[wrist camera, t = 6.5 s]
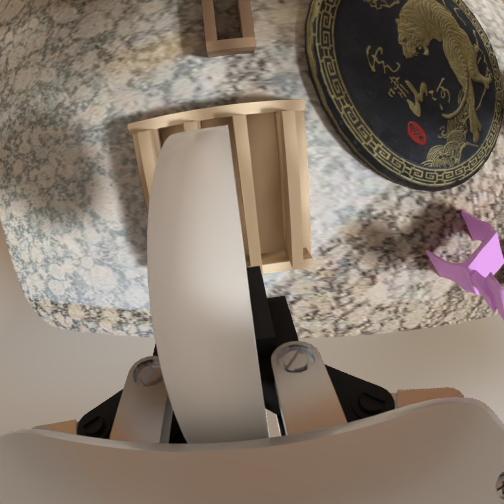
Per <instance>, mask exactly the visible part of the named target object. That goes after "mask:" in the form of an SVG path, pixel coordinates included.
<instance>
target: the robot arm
mask: <svg viewBox="0 0 504 504" xmlns="http://www.w3.org/2000/svg"><path fill="white" fill-rule="evenodd" d="M246 270H247V278H248V286H249V294H250V302H251V310H252V318H253V325H254V333H255V340H256V348H257V355H258V362H259V369H260V376H261V383H262V390H263V397H264V404H265V408H266V409H268V410H270V411H271V412H273V413H275V414H276V418H277V423H278V428H279V432H280V436H279V437H273V438H265V439H256V440H247V441H236V442H222V443H200V444H188V443H187V441H186V439H185V438H184V436H183V433H182V431H181V428H180V426H179V424H178V421H177V419H176V416H175V414H174V411H173V408H172V405H171V402H170V399H169V396H168V392H167V389H166V385H165V382H164V378H163V375H162V371H161V366H160V362H159V357H158V352H157V347H156V344H155V348H154V353H153V356H149V357H145V358H142V359H140V360H139V361H137V362H136V363H135V364H134V365H133V366H132V367H131V369H130V371H129V373H128V376H127V379H126V382H125V386H124V389H122V390H121V391H119V392H118V393H116V394H115V395H114V396H112V397H111V398H109V399H108V400H106V401H105V402H103V403H102V404H100V405H99V406H97V407H96V408H94V409H93V410H91V411H90V412H88V413H87V414H85V415H84V416H83V417H82V418H81V420H80V421H79V422H77V421H76V420H70V421H64V422H59V423H54V424H48V425H41V426H36V427H33V428H32V429H22V430H16V431H10V432H7V433H4V434H2V435H0V504H504V424H503V423H502V421H501V420H500V419H499V418H498V416H497V415H496V414H495V412H494V411H493V410H492V409H491V408H489V407H488V406H487V405H486V404H485V403H483V402H481V401H479V400H476V399H473V398H464V395H463V394H462V393H461V392H460V391H459V390H457V389H454V388H449V387H446V388H432V389H410V390H397V392H396V393H389V392H388V391H387V390H386V389H384V388H382V387H380V386H378V385H375V384H372V383H370V382H367V381H364V380H362V379H359V378H357V377H354V376H352V375H349V374H347V373H344V372H341V371H339V370H337V369H335V368H332V367H329V366H327V365H325V364H324V362H323V360H322V357H321V355H320V353H319V351H318V350H317V348H315V347H314V346H313V345H311V344H309V343H306V342H302V341H299V340H298V337H297V333H296V330H295V327H294V324H293V320H292V317H291V314H290V311H289V307H288V304H287V301H286V298H285V296H279V297H272V298H267V296H266V292H265V287H264V282H263V278H262V273H261V269H260V266H253V267H246Z"/></svg>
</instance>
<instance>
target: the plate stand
mask: <svg viewBox="0 0 504 504" xmlns="http://www.w3.org/2000/svg"><path fill="white" fill-rule="evenodd" d="M201 1H202V12H203V21H204V31H205V40H206V49H207V54H208V57H216V56H224V55H233V54H244V53H254V50H255V48H256V43H255V35H254V27H253V20H252V12H251V5H250V0H236V3H237V11H238V19H239V27H240V35H241V38H233V39H224V40H217V32H216V23H215V14H214V5H213V0H201Z"/></svg>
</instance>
